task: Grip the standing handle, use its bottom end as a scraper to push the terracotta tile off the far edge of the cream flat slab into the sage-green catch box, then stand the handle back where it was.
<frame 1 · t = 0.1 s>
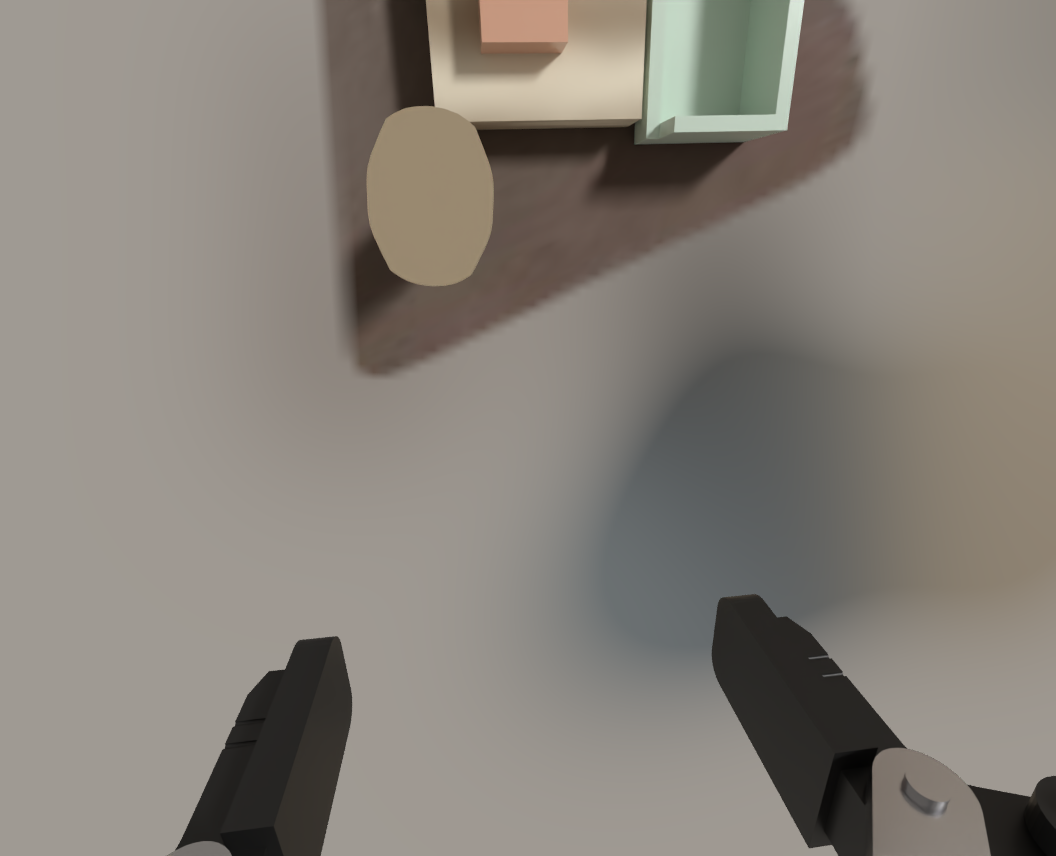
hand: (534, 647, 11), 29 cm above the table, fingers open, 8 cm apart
handle: (445, 209, 34), on the table
cream flat slab: (531, 23, 31), on the table
tile: (519, 3, 28), point 3 cm above the table, touching cream flat slab
catch box: (697, 32, 32), on the table
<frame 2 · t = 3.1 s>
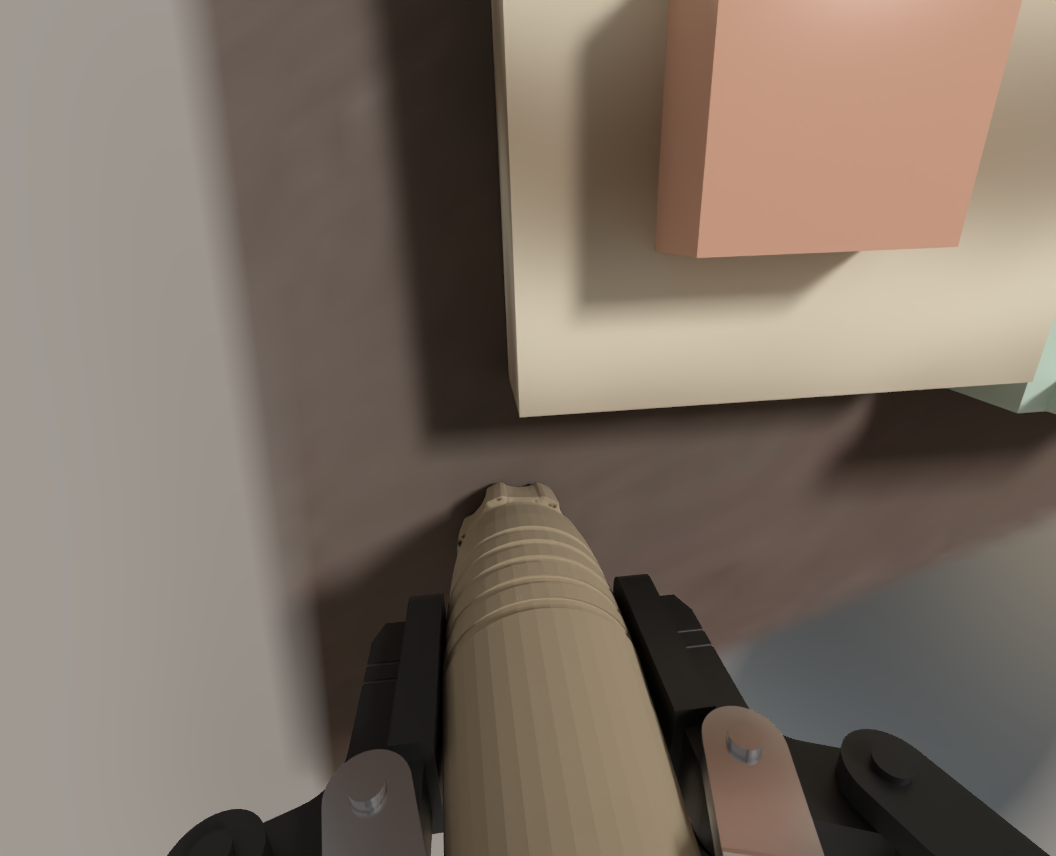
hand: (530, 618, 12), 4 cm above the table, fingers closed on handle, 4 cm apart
handle: (515, 519, 16), on the table, touching gripper
cream flat slab: (751, 137, 12), on the table
tile: (782, 115, 9), point 3 cm above the table, touching cream flat slab
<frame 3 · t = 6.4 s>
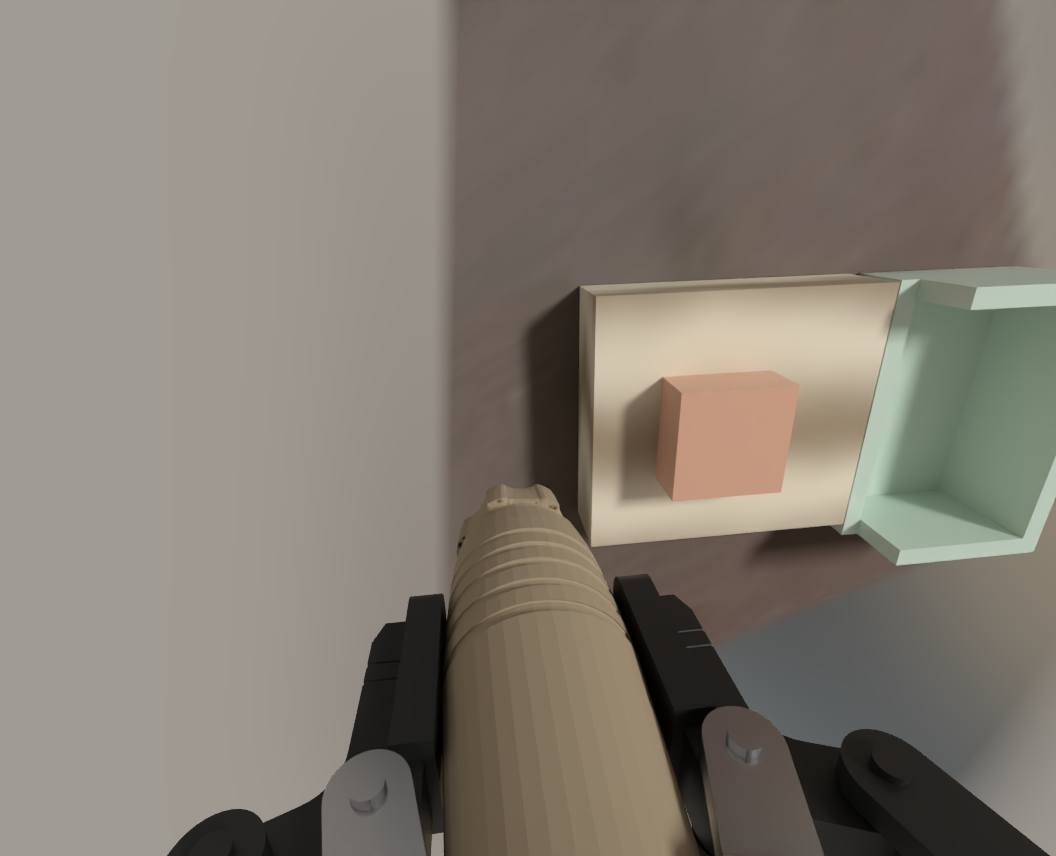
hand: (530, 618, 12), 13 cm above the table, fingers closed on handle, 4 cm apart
handle: (515, 521, 16), point 9 cm above the table, touching gripper
cream flat slab: (704, 400, 25), on the table
tile: (711, 425, 22), point 3 cm above the table, touching cream flat slab
catch box: (904, 396, 26), on the table
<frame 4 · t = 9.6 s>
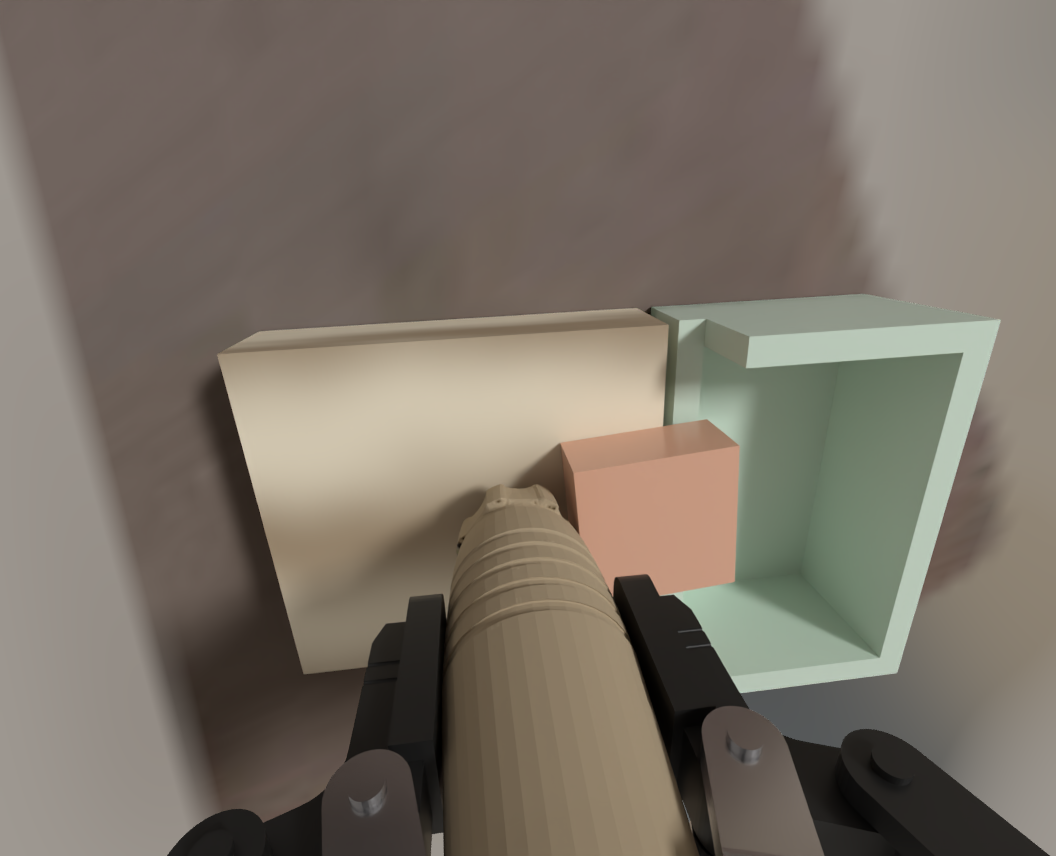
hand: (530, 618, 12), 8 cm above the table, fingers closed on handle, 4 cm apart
handle: (514, 521, 16), point 3 cm above the table, touching gripper
cream flat slab: (468, 472, 19), on the table
tile: (637, 496, 16), point 3 cm above the table, touching cream flat slab
catch box: (739, 460, 20), on the table
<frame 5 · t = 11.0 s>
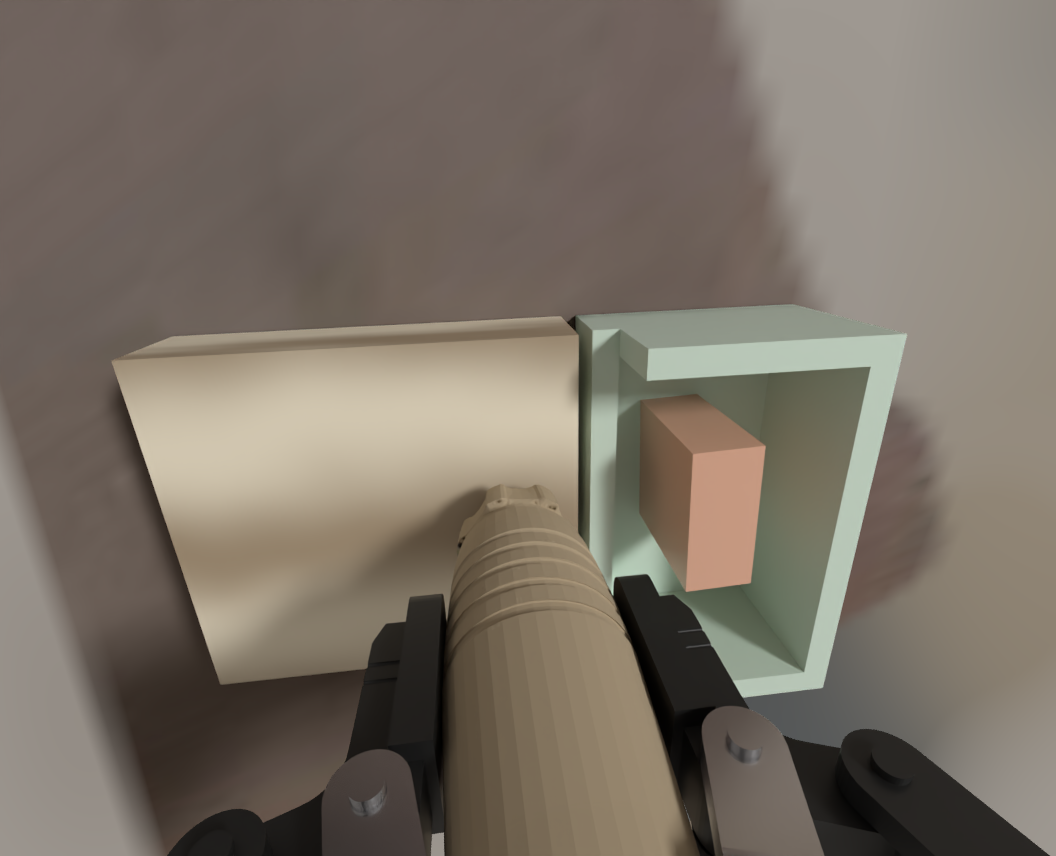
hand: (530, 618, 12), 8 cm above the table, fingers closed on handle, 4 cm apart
handle: (514, 521, 16), point 3 cm above the table, touching gripper
cream flat slab: (394, 480, 19), on the table
tile: (661, 488, 17), point 3 cm above the table, tilted 90°, touching catch box
catch box: (673, 471, 20), on the table
when the fingers open (5 cm above the table, at t = 16.2 s): handle drops 1 cm, on the table.
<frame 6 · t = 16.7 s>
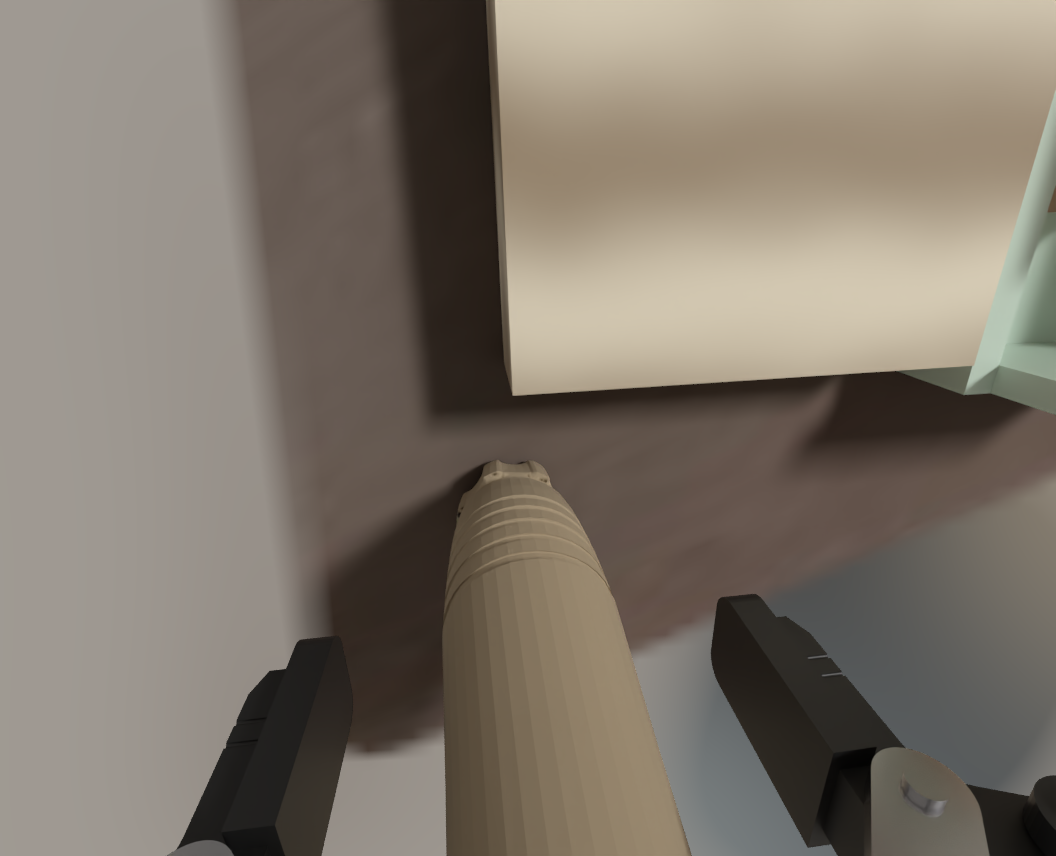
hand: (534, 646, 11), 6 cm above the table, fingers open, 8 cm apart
handle: (510, 495, 17), on the table
cream flat slab: (722, 146, 14), on the table
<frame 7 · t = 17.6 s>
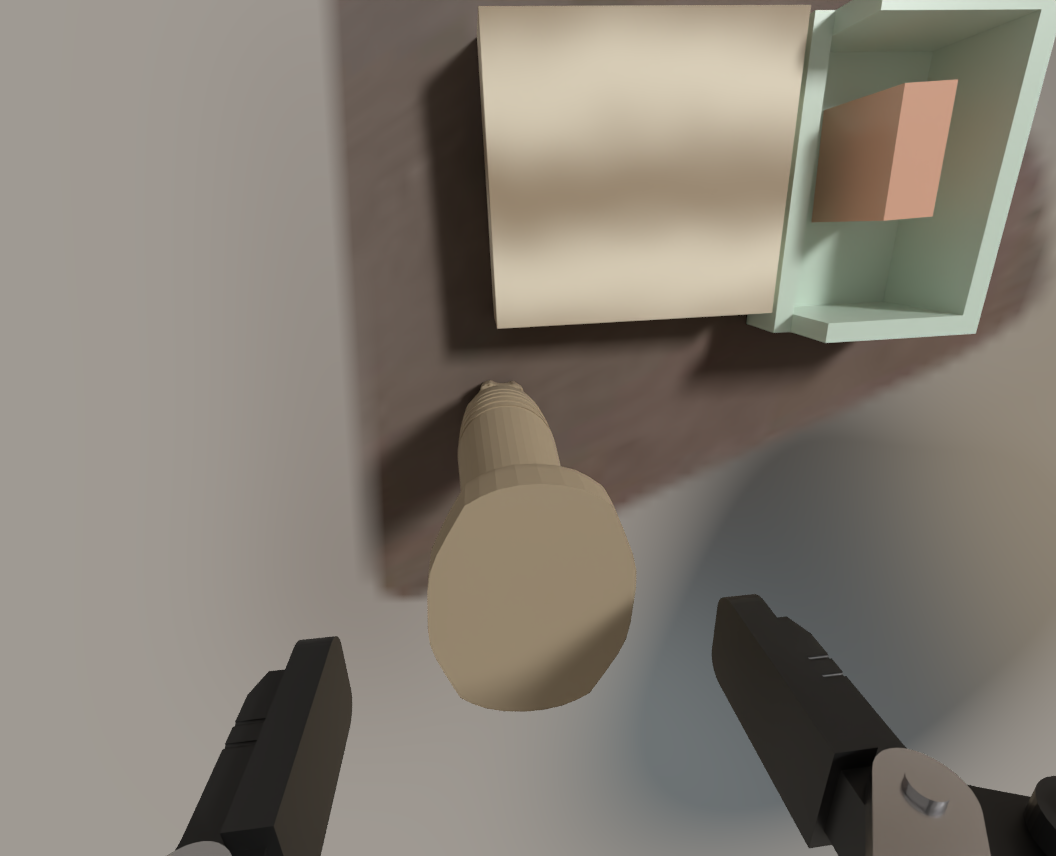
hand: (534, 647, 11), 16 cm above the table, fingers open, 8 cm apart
handle: (499, 406, 26), on the table
cream flat slab: (621, 184, 23), on the table
tile: (851, 162, 21), point 3 cm above the table, tilted 90°, touching catch box
catch box: (838, 188, 24), on the table
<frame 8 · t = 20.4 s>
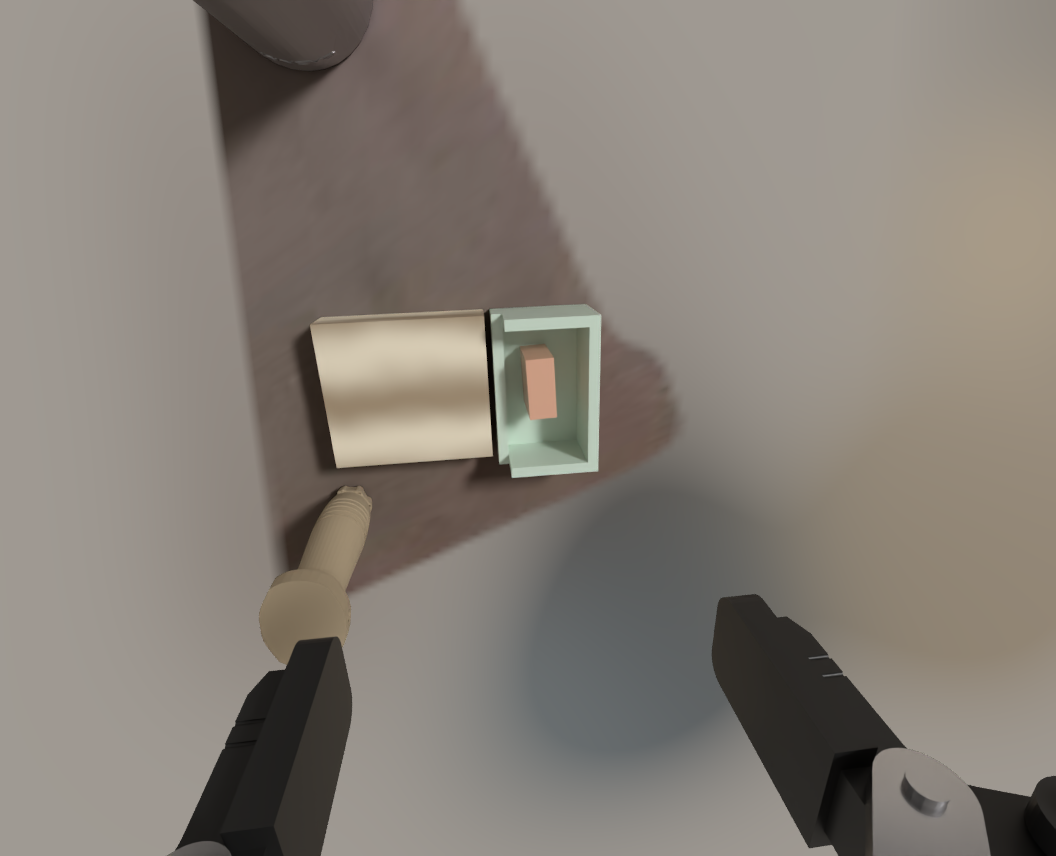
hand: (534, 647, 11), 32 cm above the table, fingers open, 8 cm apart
handle: (353, 498, 45), on the table
cream flat slab: (411, 383, 41), on the table
tile: (524, 382, 40), point 3 cm above the table, tilted 90°, touching catch box
catch box: (539, 381, 43), on the table
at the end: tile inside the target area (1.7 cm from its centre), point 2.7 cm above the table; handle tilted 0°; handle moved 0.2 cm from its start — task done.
